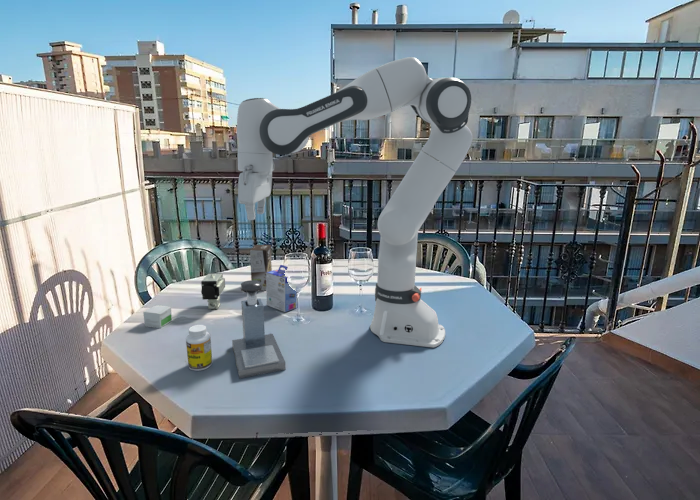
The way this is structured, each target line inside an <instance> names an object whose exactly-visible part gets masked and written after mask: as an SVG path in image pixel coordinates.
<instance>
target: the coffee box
mask: <svg viewBox="0 0 700 500" xmlns="http://www.w3.org/2000/svg"><path fill="white" fill-rule="evenodd" d="M249 254H250V255H249V256H250V257H249V259H250V278H251V279H250V280H257V281H260V282H261V283H262V289H261V290H260V291H266V273H267V272H270V271H273V268H272V267H273V266H272V265H273V264H272V245H271V244H255V245H254V246H253V247H252V248H250V250H249Z"/></svg>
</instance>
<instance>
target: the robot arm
mask: <svg viewBox="0 0 700 500" xmlns="http://www.w3.org/2000/svg"><path fill="white" fill-rule="evenodd" d="M408 106H410V107H411V108H412V110H413V111H414V113H415V114H416V115H417V117H419V119H421V120H422V121H423V122H426V123H429V124H430V127H431V129H430V135H429V136H428V139H427V141H426V142H425V144H424V145H423V147H421V150H420V151H419V152H418V155H417V156H416V158H415V159H414V161H413V163H412V164H411V166H410V167H409V168H408V170H407V171H406V174H405V175H404V177H402V180H401V182H400V183H399V185H398V186H397V187H396V189H395V190H394V192H393V194H392V195H391V197H390V198H389V200H388V202H387V203H386V205H384V208H383V209H382V211H381V213H380V215H379V216H378V220H377V231H378V232H379V235H380V241H379V248H378V250H379V251H378V258H377V277H376V278H377V282H376V283H375V289H374V298H375V299H374V300H375V305H374V312H373V317H372V320H371V322H370V325H369V326H370V327H369V329H370V330H371V332H372V333H373V334H374V335H376V336H378V338H379V339H380V341H381V342H383V343H390V344H398V345H407V346H416V347H426V348H436V347H438V346H440V345H441V344H442V343H443V342H444V341H443V340H445V338H446V328H445V327H444V326H443V325H442V324H439V319H438V314H437V312H436V310H434V309H433V308H432V307H431V306H429V305H428V304H427V303H426V302H425V301H424V300H422V299H421V297H422V287H420V288H419V287H417V286H416V285H415V284H416V269H417V267H416V266H417V254H418V253H417V251H418V237H419V230H420V229H421V228H422V225H424V223H425V221H426V219H427V218H428V216H429V215H430V213H431V211H432V210H433V208H434V206H435V204H436V203H437V201H438V200H439V198H440V196H441V195H442V193H443V192H444V190H445V189H446V187H447V186H448V185H449V183H450V182H451V180H452V178H453V177H454V175H455V174H456V172H457V171H458V169H460V166H461V165H462V163H463V162H464V159H465V158H466V156H467V154H468V152H469V149H470V147H471V145H472V143H473V140H474V138H473V132H472V131H471V129H470V128H469V127H468V125H467V123H468V121H469V113H470V110H471V106H472V94H471V90H470V88H469V87H468V85H467V84H466V83H465V82H464V81H462V80H460V78H456V77H438V78H430V76H429V75H428V74H427V72H426V68H425V67H424V65H423V64H422V62H421V61H420V60H419V59H417V57H414V56H413V57H412V56H408V57H403V58H399V59H395V60H392V61H389V62H386V63H384V64H382V65H380V66H377V67H375V68H372V69H371V70H367V71H366V72H364V73H363V74H361V75H360V76H358V77H356V78H355V79H354V80H352V81H351V82H349V83H347V84H346V85H345V86H343V87H342V88H340V89H338V90H337V91H336V92H334V93H331V94H330V95H326V96H325V97H322V98H320V99H318V100H316V101H313V102H311V103H309V104H307V105H305V106H301V107H299V108H293V109H292V108H289V109H288V108H280V107H278V106H277V105H275V104H274V103H272V102H271V101H270V100H269V99H267V98H266V97H254V98H249V99H245V100H243V101H242V102H240V104H239V106H238V107H237V108H238V109H237V117H236V134H237V139H238V147H237V170H238V171H240V173H239V176H238V182H237V183H238V184H237V185H238V186H237V188H238V189H237V197H238V198H237V200H238V203H239V204H240V205H244V208H245V212H246V216H247V220H248V221H254V220H255V219H256V217H257V216H256V214H257V215H263V214H264V213H265V205H266V202H267V201H266V200H267V199H266V198H267V197H270V196H271V192H272V184H273V171H275V163H274V161H273V154H274V155H278V156H286V155H289V154H294V153H298V152H301V150H303V149H305V147H306V146H307V144H308V142H309V137H310V136H312V135H314V134H316V133H319V132H320V131H323V130H325V129H327V128H329V127H332V126H334V125H336V124H339V123H341V122H347V121H351V120H352V121H353V120H354V121H369V120H373V119H377V118H381V117H382V116H383V117H384V116H385V115H387V114H390V113H392V112H395V111H396V110H399V109H402V108H404V107H408ZM256 203H257V205H256ZM255 206H257V207H256V211H255Z"/></svg>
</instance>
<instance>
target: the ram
mask: <svg viewBox="0 0 700 500" xmlns="http://www.w3.org/2000/svg"><path fill="white" fill-rule="evenodd" d="M240 289H241V290H240V291H241V292H243V293H246V296H247V297H246V300H247V302H248V306H254V305H257V299H258V298H257V296H258V295H257V292H259V291H262V290H261V289H262V283H261V282H260V281H257V280H251V279H250V280H245V281H242V282H241V283H240Z"/></svg>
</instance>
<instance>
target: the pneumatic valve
mask: <svg viewBox="0 0 700 500" xmlns="http://www.w3.org/2000/svg"><path fill="white" fill-rule="evenodd" d="M223 274H224V273H223V272H209V273H207V275H206V276H205V277H204V278H203V279H202V280H201V282H200V284H201V285H200V286H201V291H200V293H201V295H202V297H201V298H202V300H204V301H205V300H207V305H208V307H207V309H208V310H211V309H212V310H214V309H215V310H219V309H220V307H221V306H222V305H221V294H222V293H223V291H224V290H225V288H226V278H224V276H223Z"/></svg>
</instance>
